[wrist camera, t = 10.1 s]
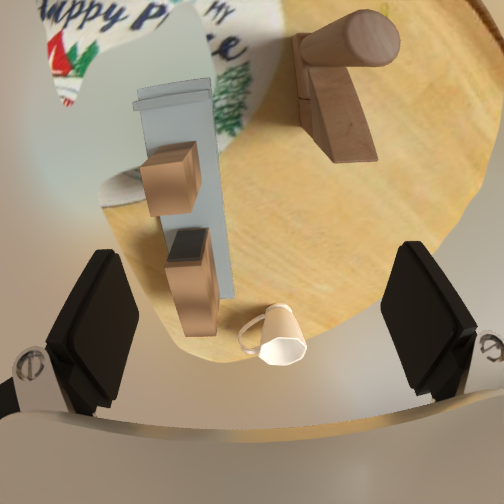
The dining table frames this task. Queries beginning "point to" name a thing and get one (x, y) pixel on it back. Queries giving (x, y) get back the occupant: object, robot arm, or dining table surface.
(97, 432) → the robot arm
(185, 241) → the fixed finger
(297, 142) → the dining table surface
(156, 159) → the brown rectangular block
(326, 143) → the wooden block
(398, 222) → the dining table surface
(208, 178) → the rail
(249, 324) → the cup
